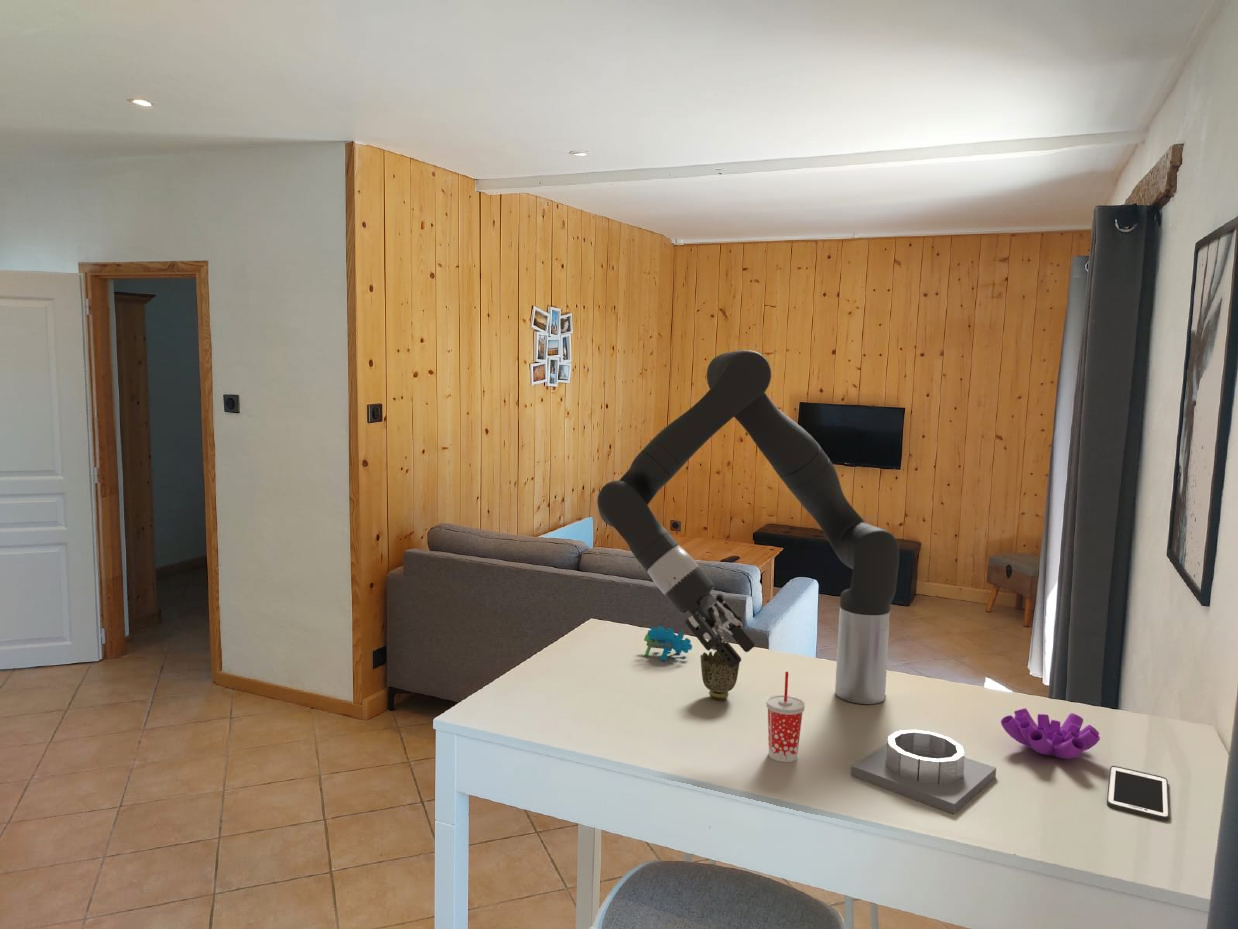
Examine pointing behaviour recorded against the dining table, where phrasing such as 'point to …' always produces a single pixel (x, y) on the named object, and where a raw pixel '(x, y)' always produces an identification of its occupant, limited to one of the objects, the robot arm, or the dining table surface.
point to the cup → (718, 675)
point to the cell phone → (1138, 793)
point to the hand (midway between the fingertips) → (744, 656)
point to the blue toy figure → (666, 641)
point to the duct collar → (924, 768)
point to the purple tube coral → (1051, 734)
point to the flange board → (931, 794)
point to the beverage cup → (784, 725)
